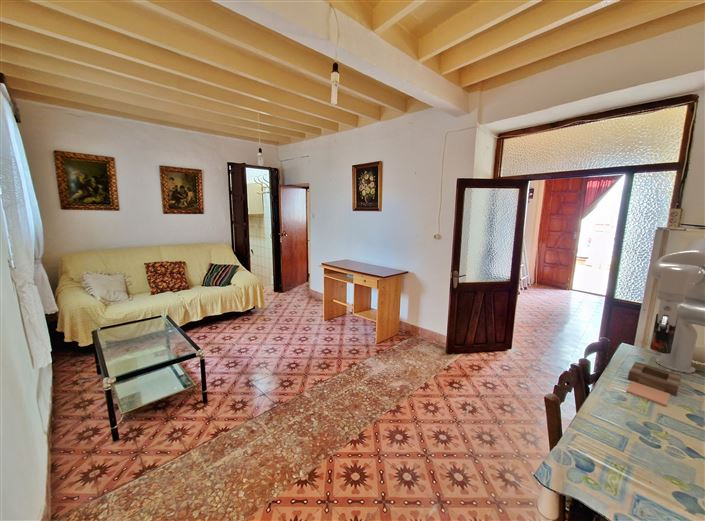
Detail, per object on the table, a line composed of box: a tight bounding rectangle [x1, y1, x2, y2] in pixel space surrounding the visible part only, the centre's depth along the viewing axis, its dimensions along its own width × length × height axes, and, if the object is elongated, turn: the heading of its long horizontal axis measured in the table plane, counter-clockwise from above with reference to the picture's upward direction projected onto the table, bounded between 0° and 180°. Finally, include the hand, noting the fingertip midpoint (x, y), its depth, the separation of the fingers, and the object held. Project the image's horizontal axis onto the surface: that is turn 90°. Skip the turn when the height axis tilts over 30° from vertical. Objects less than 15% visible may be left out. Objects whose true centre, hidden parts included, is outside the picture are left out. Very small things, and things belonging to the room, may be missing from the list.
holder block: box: [627, 361, 682, 397], centre depth 122 cm, size 14×14×4 cm
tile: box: [626, 381, 671, 408], centre depth 114 cm, size 11×11×1 cm
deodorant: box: [649, 313, 678, 354], centre depth 119 cm, size 6×6×15 cm
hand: (662, 337), depth 120 cm, fingers closed on deodorant, 6 cm apart
